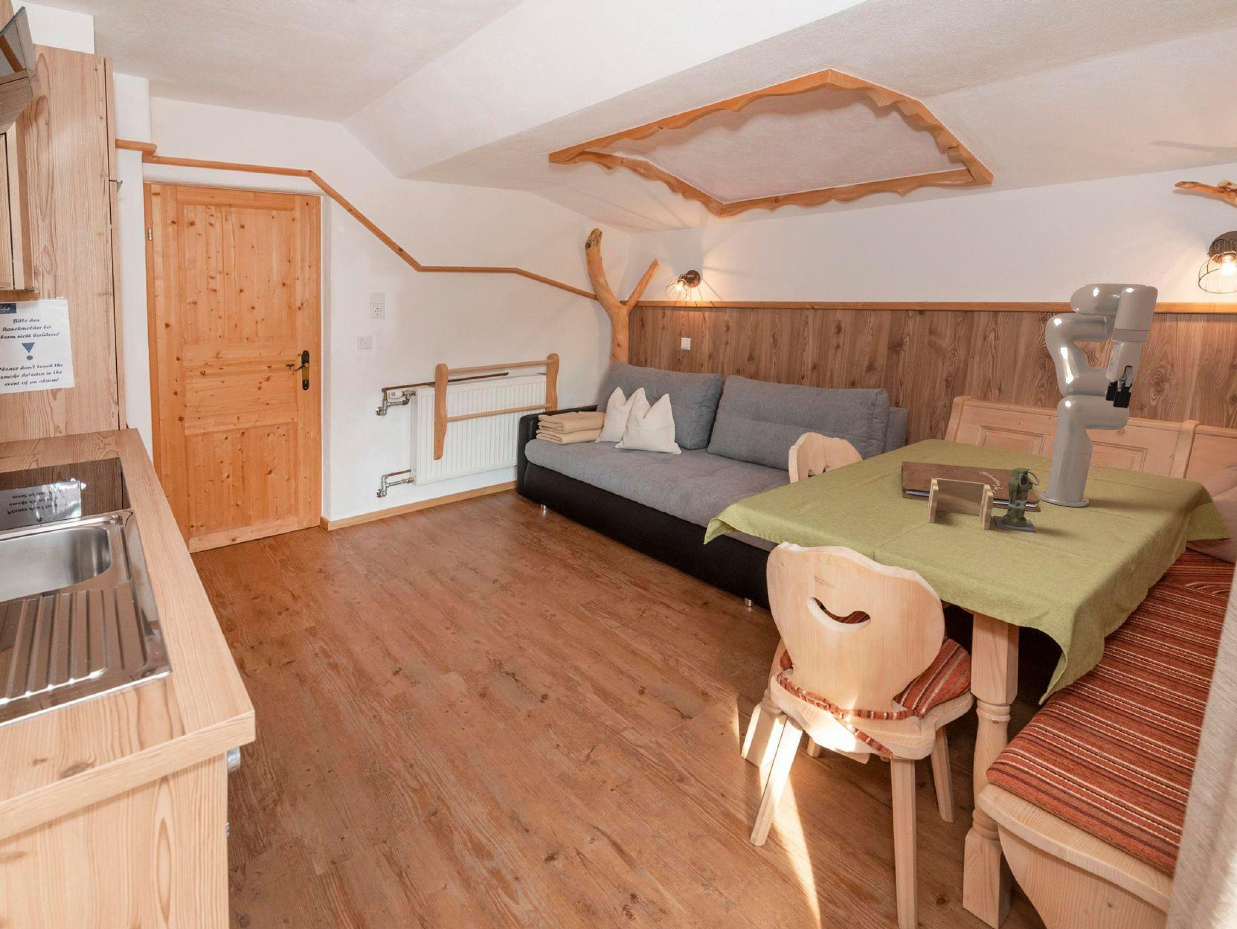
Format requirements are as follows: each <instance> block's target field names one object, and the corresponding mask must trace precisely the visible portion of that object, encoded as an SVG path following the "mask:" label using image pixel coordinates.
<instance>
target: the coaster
mask: <svg viewBox="0 0 1237 929" xmlns="http://www.w3.org/2000/svg"><path fill="white" fill-rule="evenodd" d="M993 521H994V522H995V525H996V528H997V529H1003V530H1004V529H1005V530H1011V531H1012V530H1013V531H1018V532H1019V531H1020V532H1027V533H1034V534H1035V533H1036V534H1037V529H1036V527H1035V526H1034V523H1033V522H1032V520H1031V519H1026V526H1019V527H1017V526H1011V525H1008V524H1005V523H1003V516H999V515H993Z"/></svg>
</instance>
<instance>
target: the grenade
mask: <svg viewBox="0 0 1237 929" xmlns="http://www.w3.org/2000/svg"><path fill="white" fill-rule="evenodd" d="M1029 474H1030V475H1031V476H1033V477H1034V478H1035V480H1036V481H1037V482H1036V483H1035V482H1034V481H1033V480H1031V478H1030V476H1029ZM1007 484H1008V486H1007V487H1008V498H1009V499H1008V505H1007V511H1006V514H1004V515H1002V517H1003V523H1005V524H1008V525H1011V526H1017V527H1019V526H1026V520H1027V518H1026V517H1025V513H1026V505H1027V500H1028V494H1029V491H1030V490H1033V486H1039V485H1040V481H1039V478H1038V477H1037V476H1036V475H1035V473H1033V472H1031V471H1030V468H1026V467H1017V468H1013V469H1012V470H1011V477H1010V478H1009V480H1008V483H1007Z"/></svg>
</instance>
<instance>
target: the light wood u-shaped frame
mask: <svg viewBox="0 0 1237 929" xmlns="http://www.w3.org/2000/svg"><path fill="white" fill-rule="evenodd" d="M929 488H930V489H929V496H928V501H927V514H928V523H932V524H933V523H935V518H936V512H938V511H939V512H948V513H955V514H956V513H957V514H964V515H965V514H966V515H971V516H972V515H973V516H979V519H980V522H981V525H982V528H983V529H984V530H987V531H988V530H989V529H990V524H991V517H992V511H993V504H994V500H995V499H994V498H995V496H994V494H993V491H992V489H991V486H990V484H989V483H986V482H978V481H976V482H975V481H969V480H968V481H967V480H958V479H949V478H948V479H947V478H939V477H931V482H930V487H929Z"/></svg>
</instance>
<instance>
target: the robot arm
mask: <svg viewBox="0 0 1237 929" xmlns="http://www.w3.org/2000/svg"><path fill="white" fill-rule="evenodd" d="M1075 290H1076V291H1074V292H1073V294H1072V295H1071V297H1070V299H1069V301H1070V302H1069V305H1070V308H1071V309H1072V311H1074V312H1063V313H1058V314H1055V315H1052V316H1051V317H1050V318H1049V319H1048V321H1047V323H1046V325H1045V329H1044V330H1045V331H1044V338H1045V340H1044V341H1045V345H1046V349H1047V351H1048V353H1049V355H1050V357H1051V358H1052V361H1053V363H1054V368H1055V373H1056V374H1055V375H1056V379H1057V386H1058V389H1059V392H1060V394H1061V395H1062V396H1063V398H1061V400H1060V401H1059V402H1058V404H1057V407H1056V408H1057V409H1056V422H1057V423H1056V433H1055V434H1056V435H1055V440H1054V446H1053V452H1052V459H1051V463H1050V469H1049V473H1048V474H1049V475H1048V480H1047V486H1046V490H1045V491H1041V492H1040V493H1039V498H1040V500H1042V501H1043V502H1047V503H1050V504H1054V505H1059V506H1064V507H1075V508H1077V507H1078V508H1079V507H1080V508H1081V507H1087V506H1088V505H1089V503H1090V500H1089V499H1088V498H1087V497H1085V492H1086V485H1087V480H1088V476H1089V470H1090V465H1091V460H1092V455H1093V450H1094V449H1093V448H1094V443H1093V441H1092V438H1091V437H1090V436H1089V434H1088V433H1087V430H1101V431H1118V430H1122V429H1124V428H1125V427H1126V426H1127V425H1128V423H1129V420H1130V406H1129V405H1130V401H1131V397H1132V390H1133V383H1135V382H1136V379H1137V375H1138V371H1139V366H1140V362H1141V361H1140V359H1141V355H1142V348H1143V345H1147V344H1148V341H1149V337H1150V332H1151V329H1152V328H1151V327H1152V322H1153V317H1154V313H1155V309H1156V303H1157V299H1158V294H1159V292H1158V291H1159V290H1158V288H1157V287H1155V286H1149V285H1146V284H1138V283H1091V284H1090V283H1089V284H1085V286H1082V287H1080V288H1078V289H1075ZM1109 340H1111V342H1113V346H1112V349H1111V352H1110V357H1109V361H1108V363H1107V364H1108V365H1107V367H1105V368H1104V367H1093V366H1090V364H1089V360H1088V359H1089V358H1088V356H1087V353H1085V352H1084V351H1083V350H1082V349H1081V348H1080V346H1078V345H1077V344H1075V343H1076V342H1079V343H1084V342H1085V343H1106V342H1108V341H1109ZM1074 342H1075V343H1074Z"/></svg>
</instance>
